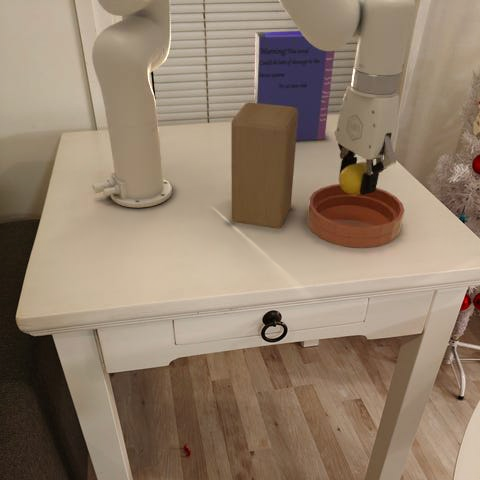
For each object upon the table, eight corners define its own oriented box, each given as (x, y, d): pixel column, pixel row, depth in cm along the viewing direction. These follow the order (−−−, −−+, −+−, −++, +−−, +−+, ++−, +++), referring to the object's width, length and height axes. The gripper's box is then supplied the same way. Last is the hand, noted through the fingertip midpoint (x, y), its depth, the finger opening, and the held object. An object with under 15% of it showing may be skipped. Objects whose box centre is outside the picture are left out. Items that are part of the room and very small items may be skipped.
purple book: (319, 132, 138) (330, 29, 123) (324, 140, 135) (336, 34, 119) (253, 135, 136) (255, 31, 121) (256, 143, 133) (259, 36, 117)
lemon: (348, 202, 95) (352, 174, 91) (329, 190, 98) (333, 163, 95) (381, 192, 98) (387, 165, 94) (362, 181, 101) (367, 154, 98)
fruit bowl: (345, 260, 93) (349, 238, 90) (289, 217, 105) (290, 196, 102) (418, 234, 100) (424, 213, 97) (358, 196, 112) (361, 176, 109)
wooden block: (291, 207, 108) (299, 105, 95) (281, 231, 100) (288, 125, 88) (243, 200, 110) (245, 100, 97) (230, 224, 102) (229, 118, 90)
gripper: (324, 69, 89) (311, 171, 101) (395, 101, 78) (372, 211, 90) (358, 64, 92) (343, 164, 104) (432, 93, 81) (405, 201, 93)
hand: (356, 185), depth 97 cm, fingers closed on lemon, 5 cm apart
